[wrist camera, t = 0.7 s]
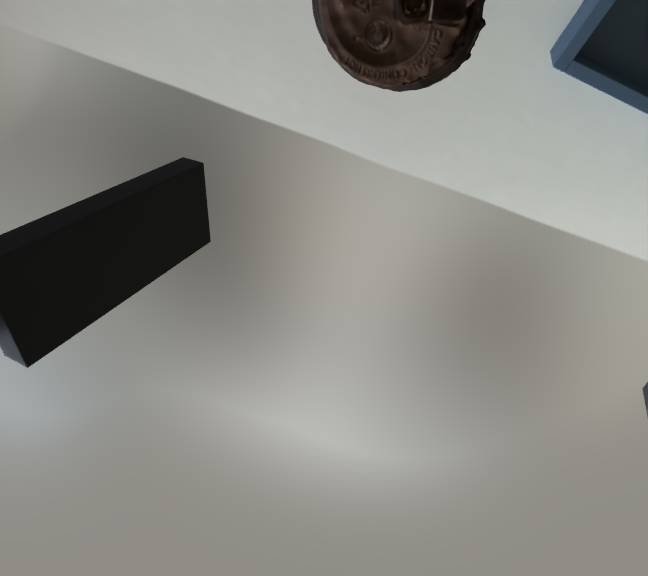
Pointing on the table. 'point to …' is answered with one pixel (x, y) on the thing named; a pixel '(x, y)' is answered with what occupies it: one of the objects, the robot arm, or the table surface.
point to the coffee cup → (399, 38)
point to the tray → (608, 49)
